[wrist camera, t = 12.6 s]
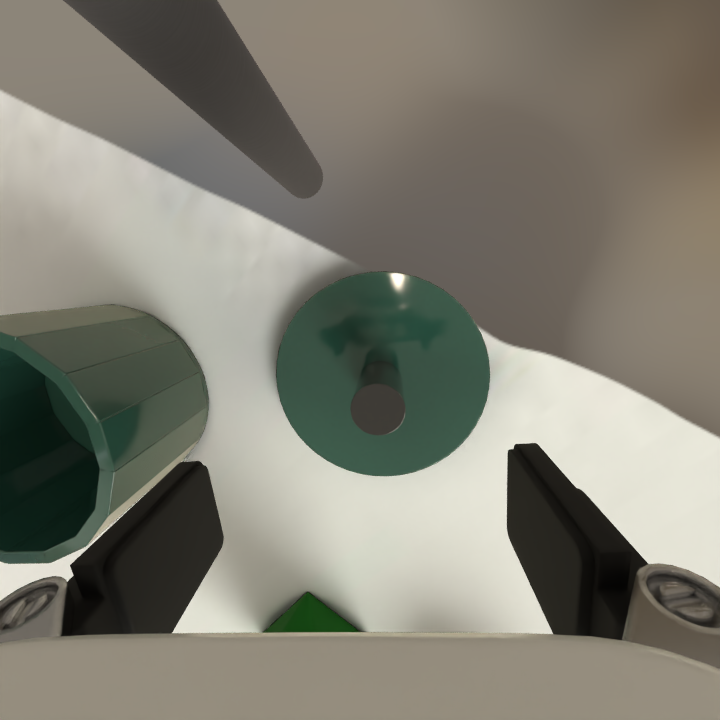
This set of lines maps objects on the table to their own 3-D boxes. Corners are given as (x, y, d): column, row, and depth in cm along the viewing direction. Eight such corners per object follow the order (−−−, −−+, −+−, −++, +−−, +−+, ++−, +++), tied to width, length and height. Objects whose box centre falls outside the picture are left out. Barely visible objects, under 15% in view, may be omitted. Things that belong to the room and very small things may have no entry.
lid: (266, 282, 24) (222, 285, 17) (484, 260, 22) (520, 254, 16) (296, 471, 27) (268, 529, 21) (486, 463, 26) (517, 523, 19)
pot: (19, 313, 26) (-185, 333, 17) (188, 296, 24) (66, 308, 15) (71, 473, 29) (-77, 565, 20) (223, 467, 27) (140, 562, 18)
